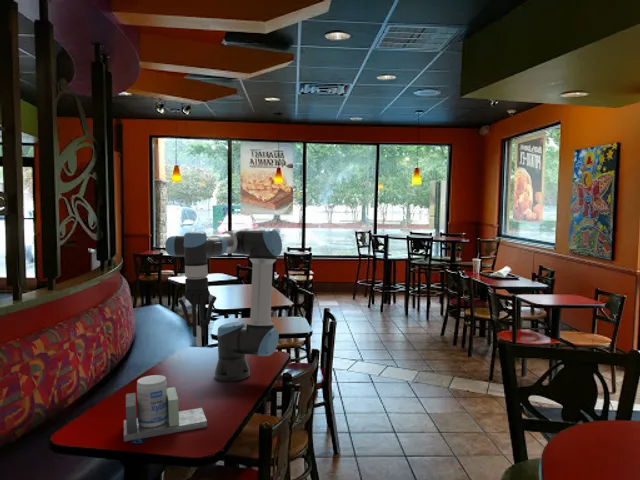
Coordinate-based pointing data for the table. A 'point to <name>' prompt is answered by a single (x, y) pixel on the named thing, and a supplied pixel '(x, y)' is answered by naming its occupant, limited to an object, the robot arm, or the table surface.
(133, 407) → the vise
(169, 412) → the block
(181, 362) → the table surface
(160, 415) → the supplement tub
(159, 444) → the table surface
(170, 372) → the table surface
